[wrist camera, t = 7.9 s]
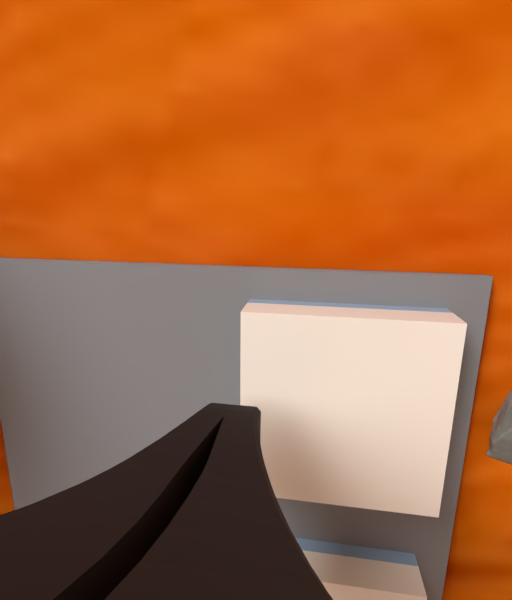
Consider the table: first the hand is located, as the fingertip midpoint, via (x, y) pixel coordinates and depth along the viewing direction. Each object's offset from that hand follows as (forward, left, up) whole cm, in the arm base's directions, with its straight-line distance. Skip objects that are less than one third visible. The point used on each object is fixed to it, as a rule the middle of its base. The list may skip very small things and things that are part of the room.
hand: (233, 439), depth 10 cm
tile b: (0, 0, -2) cm, 2 cm away
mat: (-2, -4, -4) cm, 6 cm away
